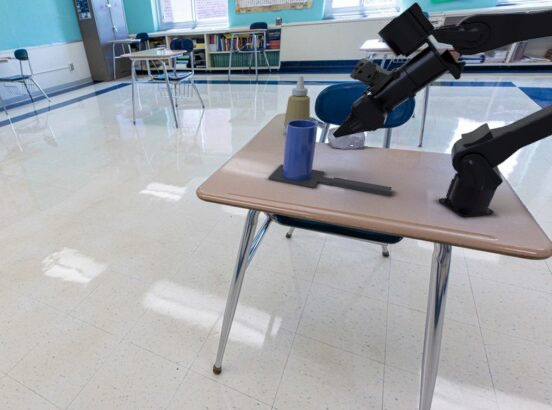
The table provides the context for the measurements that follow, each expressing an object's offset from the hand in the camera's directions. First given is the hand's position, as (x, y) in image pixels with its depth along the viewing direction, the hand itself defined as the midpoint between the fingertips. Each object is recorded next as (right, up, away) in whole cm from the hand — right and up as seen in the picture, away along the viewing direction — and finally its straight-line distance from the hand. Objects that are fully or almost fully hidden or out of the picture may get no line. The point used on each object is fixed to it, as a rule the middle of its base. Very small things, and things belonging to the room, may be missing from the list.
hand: (339, 129), depth 70 cm
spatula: (0, -11, +7) cm, 13 cm away
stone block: (+13, +3, +30) cm, 33 cm away
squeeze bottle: (+1, +7, +38) cm, 39 cm away
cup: (-6, -9, +10) cm, 14 cm away
